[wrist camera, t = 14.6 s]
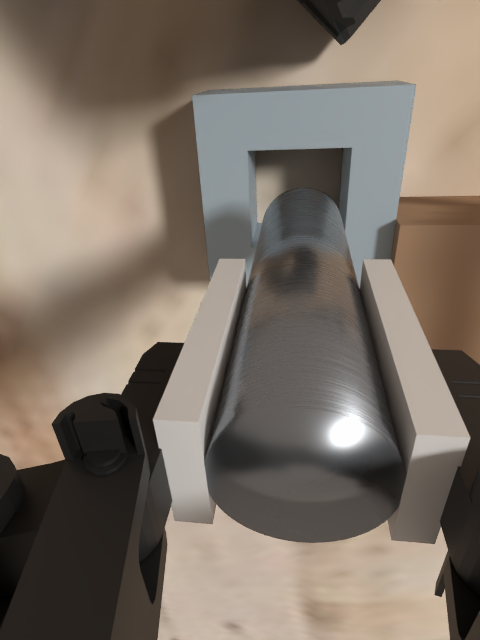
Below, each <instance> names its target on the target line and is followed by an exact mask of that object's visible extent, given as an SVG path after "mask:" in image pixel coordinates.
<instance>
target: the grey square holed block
mask: <svg viewBox="0 0 480 640" xmlns="http://www.w3.org/2000/svg"><path fill="white" fill-rule="evenodd" d="M415 90H416V84H411V83H407V82H402V81H382V82H362V83H342V84H322V85H302V86H282V87H262V88H242V89H222V90H207V91H204V92H201V93H198V94H195V95H192V100H193V110H194V121H195V131H196V142H197V152H198V163H199V173H200V183H201V194H202V204H203V215H204V225H205V235H206V246H207V256H208V267H209V277H210V281H211V278H212V276H213V273H214V271H215V269H216V266H217V264H218V261H219V259H245V268H246V287H247V284H248V280H249V276H250V272H251V268H252V264H253V260H254V256H255V251H256V247H257V243H258V239H259V235H260V231H261V227H262V223H257V198H256V163H255V150H287V149H319V148H343V162H342V175H341V189H340V202H339V211H340V214H341V218H342V222H343V226H344V230H345V234H346V238H347V242H348V246H349V250H350V254H351V258H352V262H353V266H354V270H355V274H356V278H357V282H358V286H359V289H360V282H361V273H362V264H363V259H390V258H391V251H392V244H393V238H394V231H395V224H396V217H397V211H398V204H399V197H400V190H401V184H402V177H403V170H404V164H405V157H406V150H407V143H408V137H409V130H410V123H411V116H412V110H413V103H414V96H415Z"/></svg>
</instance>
